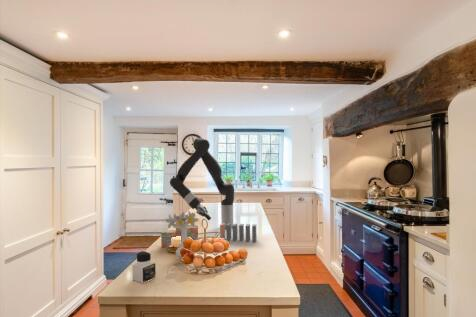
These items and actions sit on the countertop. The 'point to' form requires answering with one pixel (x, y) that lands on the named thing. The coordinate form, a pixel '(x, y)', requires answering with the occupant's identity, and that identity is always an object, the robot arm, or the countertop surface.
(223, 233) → the terracotta domino
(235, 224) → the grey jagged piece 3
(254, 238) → the slate domino
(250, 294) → the countertop surface
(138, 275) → the medicine bottle
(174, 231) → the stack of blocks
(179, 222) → the flower vase
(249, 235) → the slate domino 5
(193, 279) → the countertop surface
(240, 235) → the slate domino
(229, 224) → the slate domino
